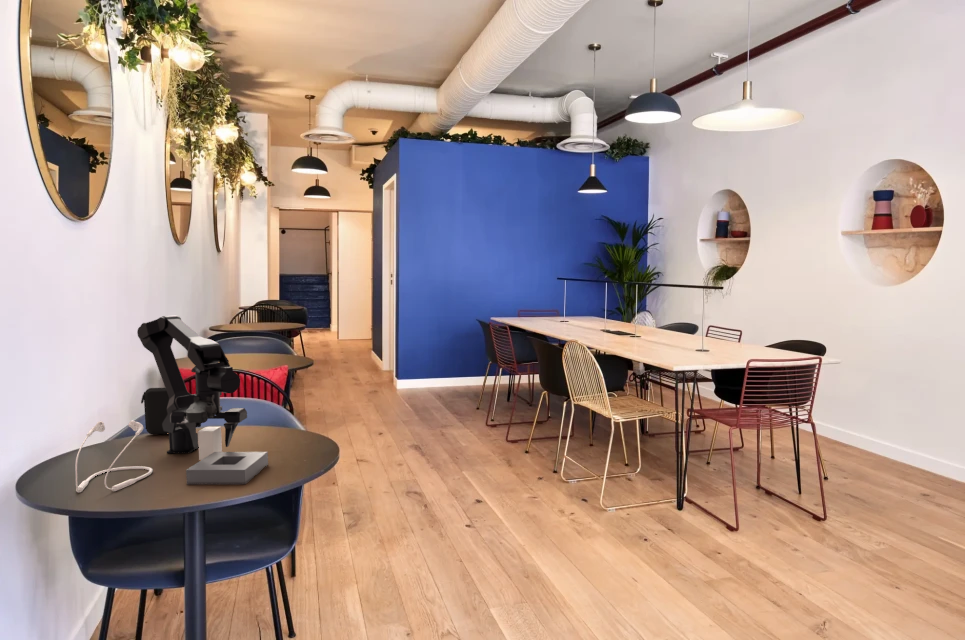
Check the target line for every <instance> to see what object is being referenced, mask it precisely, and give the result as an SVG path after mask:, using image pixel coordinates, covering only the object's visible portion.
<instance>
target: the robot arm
mask: <svg viewBox="0 0 965 640" xmlns="http://www.w3.org/2000/svg"><path fill="white" fill-rule="evenodd" d="M137 328H138V329H137V333H136V334H137V338H138V339H139V341H140V342H141V344H142V347H144V348H145V349H146V350H147V351H148V352H150V353H151V354H152V355H153V358H154V362H155V363H156V367H157V368H158V372H159V374H160V376H161V379H162V383H163V386H164V387H165V388H166V391H167V393H168V396H169V403H168V406H167V413H168V415H167V416H166V418H165V420H164V421H163V423H162V426H163V430H164V431H166V432H169V434H168V441H169V442H168V443H169V450H167V451H166V454H190V453H192V452H194V451H196V450H197V449H199V448H198V447H199V444H198V432H197V428H201V426H202V424H204V423H206V422H208V420H213V419H216V420H218V419H219V420H223V419H224V421H225V422H224V423H223V426H224V429H225V431H224V432H225V433H224V437H225V438H224V443H225V444H224V445H225V448H228V447H229V446H230V444H231V441H232V438H233V436H234V433H235V431H236V428H237V426H238V425H239V424H240V423H241V422H243V421H244V420H246V419H247V418H248V411H247V410H246V408H245V407H242V408H241V407H232V408H229V409H228V410H226V411H223V406H222V405H221V398H220V397H221V396H222V393H224V394H233V393H235V392H237V391H238V389H239V387H240V385H241V378H240V376H239V375H238V373H237V372H235V371H234V369H233V366H231V364H230V362H229V361H230V360H229V359H228V358H227V356H226V354H225V352H224V350H223V348H222V346H221V345H220V343H218V342H217V341H214V340H212V339H210V338H206V337H202V336H201V335H199V334H198V333H197V332H196V331H195V330H194V329H192V328H191V327H190V326H189V325H187V323H185V322H184V321H183V320H182V318H181V317H180V316H179V315H176V314H175V315H163V316H161V317H158V318H157V319H154V320H151V321H148V322H142V323H141V325H140V326H139V327H137ZM173 340H175V341H176V342H177V343H178V344H179V345H181V346H182V347H183V348H184V349H185V350H186V353H187V355H186V357H187V358H188V360H190V362H191V363H192V364H193V365H194V367H192V369H191V371H190V372H191V373H195V388H196V389H195V391H196V392H195V393H194V394H191V393H190V392H189V391H188V389H187V386H186V384H185V383H186V382H185V381H184V378H183V376H182V373H181V371H180V368H179V365H178V363H177V359H176V357H175V355H174V352H173V349H172V344H173ZM195 449H196V450H195ZM193 450H194V451H193Z"/></svg>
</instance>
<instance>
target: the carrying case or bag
mask: <svg viewBox="0 0 965 640" xmlns="http://www.w3.org/2000/svg"><path fill="white" fill-rule="evenodd" d="M140 403H141V404H143V405H144V424H145V427H144V428H145V430H146V433H148V434H149V435H151V434H166V435H168V434H167V433H169V432H166V431H164V430H163V426H162V423H163V421H164V420H165V418H166V416H167V415H168V413H167V406H168V403H169V396H168V393H167V391H166V388H165V386H164V387H149V388H147V389H146V390H145V391H144V392H143V394H142V396H141V400H140Z"/></svg>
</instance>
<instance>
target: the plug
mask: <svg viewBox="0 0 965 640" xmlns="http://www.w3.org/2000/svg"><path fill="white" fill-rule="evenodd" d="M197 433H198V445H199V448H198V461H199V460H202V459H204V458H206V457H207V456H209V455H210V454H212V453H213V452H223V447H222V446H223V445H222V443H223V442H222V426H205V427H203V428H202V429H200V430H198V431H197Z"/></svg>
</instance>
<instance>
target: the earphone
mask: <svg viewBox="0 0 965 640" xmlns="http://www.w3.org/2000/svg"><path fill="white" fill-rule="evenodd" d="M128 427H129V428H131V429H132V430H133V431H134V433H135V434H134V436H133V438H131V440H130V441H129V442H128V443H127V444H126V445H125V447H124V448H123V449H122V450H121V451H120V453H119V454H118V455H117V456H116V458H115V459H114V460H113V462H112V463H111V465H109V467H108V469H104V470H100V471H97V472H95V473H93V474H92V475H90V476H88V477H87V478H86V479H85V480H82V482H81V483H80V484H79V485H78V461H79V456H80V452H81V451H82V448H83V446H84V444H85V442H86V441H87V439H88V438H89V437H92V435H93V434H94V432H99V433H102V432H105V430H106V427H105V423H104V422H103V421H101V420H100V421H97V422H96V424H95V425H94V426H93V427H92V428H91V429H90V430H89V431H88V432H87V433H86V437H85V438H84V440H83V442H82V443H81V445H80V447H79V449H78V452H77V455H76V457H75V466H74V467H75V468H74V469H75V487H76V489H75V491H76V493H82V492H83V491H84V489H85V488H86V487H87V486H88V485H89V482H90V481H91V480H92V479H94V478H95V476H96V477H98V476H100V475H102V473H103V474H105V477H104V486H105V488H106V489H108V490H111V491H112V492H116V491H120V490H121V489H122V490H123V489H124V488H126V487H129V486H131V485H133V484H135V483H136V482H138V481H140V480H143V479H144V478H147V477H148V476H151V474H152V473H154V472H153V471H154V470H153V467H150V466H144V465H143V466H142V465H141V466H140V465H139V466H138V465H137V466H136V465H135V466H134V465H133V466H119V467H113V466H114V464H115V463H116V462H117V460H118V459H119V457H121V455H122V454H123V452H124V451H125V450H126V449H127V448H128V447H129V445H130V444H131V443H132V442H133V441H134V439H135V438H137V436H139V435H140V434H141V433H142V432H143V431H144V425H143V424H142V423H141V422H138V421H135V420H133V419H132V420H130V421H129V423H128ZM112 467H113V468H112ZM144 469H145V470H146V471H147V472H146V473H145V474H142V475H140V476H137V477H136V478H130V479H127V480H125V481H123V482H120V483H118V484H115V485H113V486H111V487H108V485H107V477H108V475H109V473H111V472H116V471H124V470H144ZM110 471H111V472H110ZM105 472H107V473H105ZM97 475H98V476H97Z"/></svg>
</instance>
